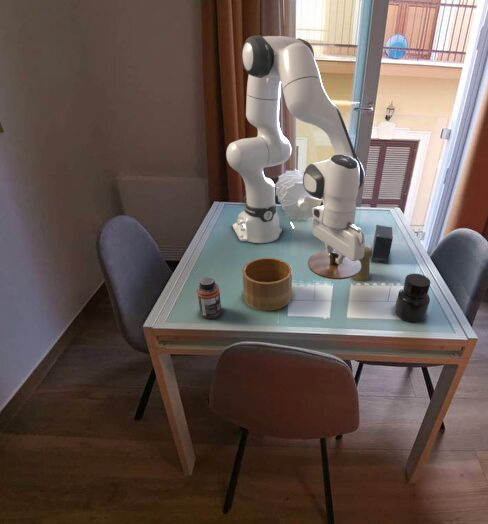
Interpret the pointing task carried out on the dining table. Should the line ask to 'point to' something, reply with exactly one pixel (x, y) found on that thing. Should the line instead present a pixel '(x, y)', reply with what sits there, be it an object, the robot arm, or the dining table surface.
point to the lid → (333, 266)
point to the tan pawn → (364, 266)
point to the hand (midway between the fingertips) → (334, 260)
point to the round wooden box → (267, 283)
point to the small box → (382, 244)
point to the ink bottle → (413, 298)
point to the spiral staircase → (295, 196)
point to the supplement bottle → (209, 298)
